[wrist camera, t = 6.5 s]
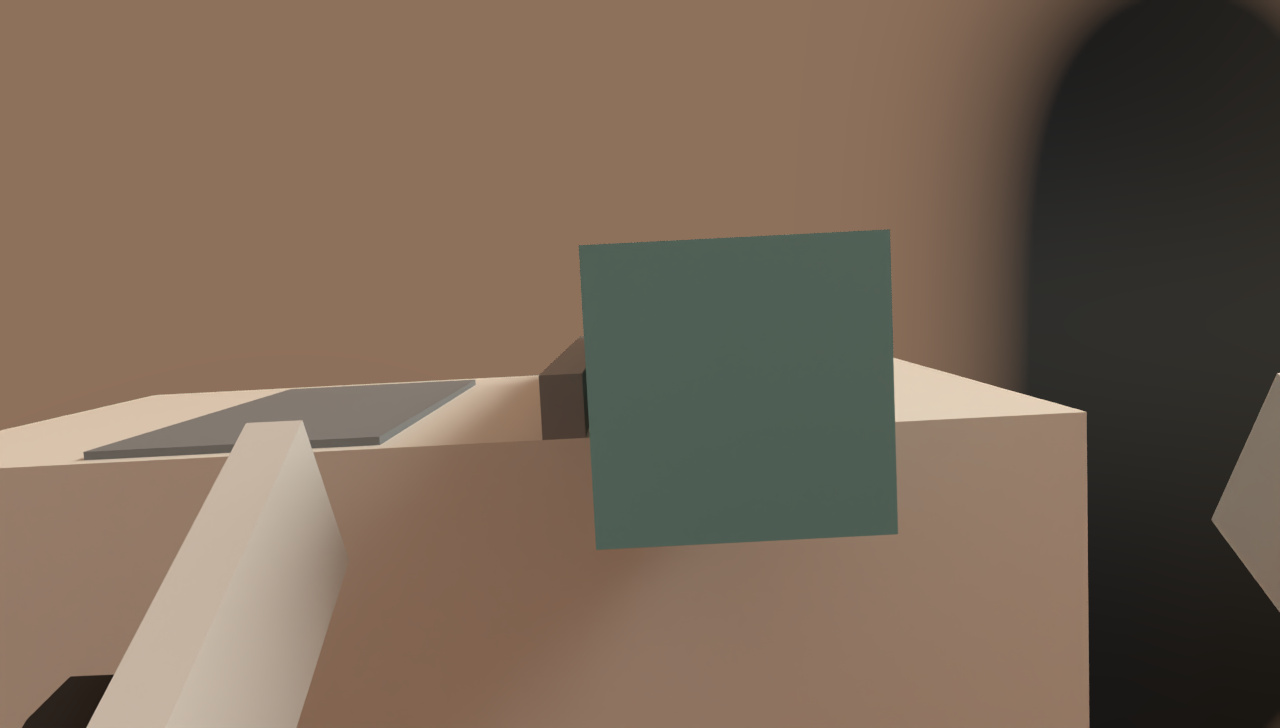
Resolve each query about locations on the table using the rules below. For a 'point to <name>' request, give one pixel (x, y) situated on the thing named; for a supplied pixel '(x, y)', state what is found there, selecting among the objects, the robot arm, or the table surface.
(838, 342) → the teal block
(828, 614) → the tall cream box
